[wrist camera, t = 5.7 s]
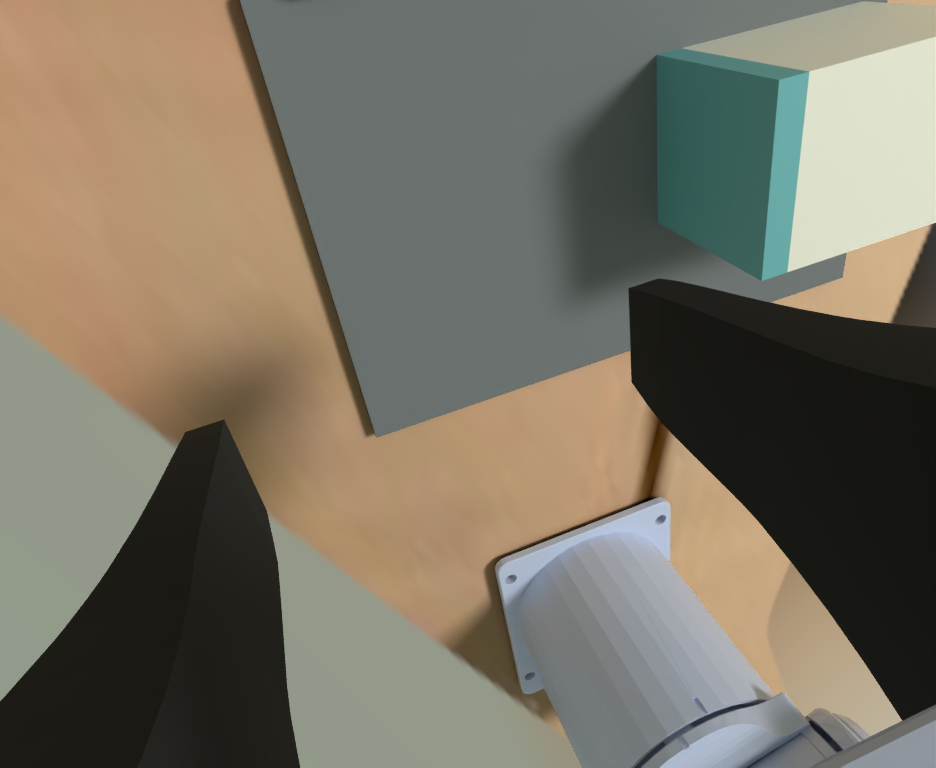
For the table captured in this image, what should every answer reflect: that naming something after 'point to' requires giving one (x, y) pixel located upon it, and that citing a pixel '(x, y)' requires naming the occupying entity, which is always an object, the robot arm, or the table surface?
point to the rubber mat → (490, 180)
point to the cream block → (800, 136)
